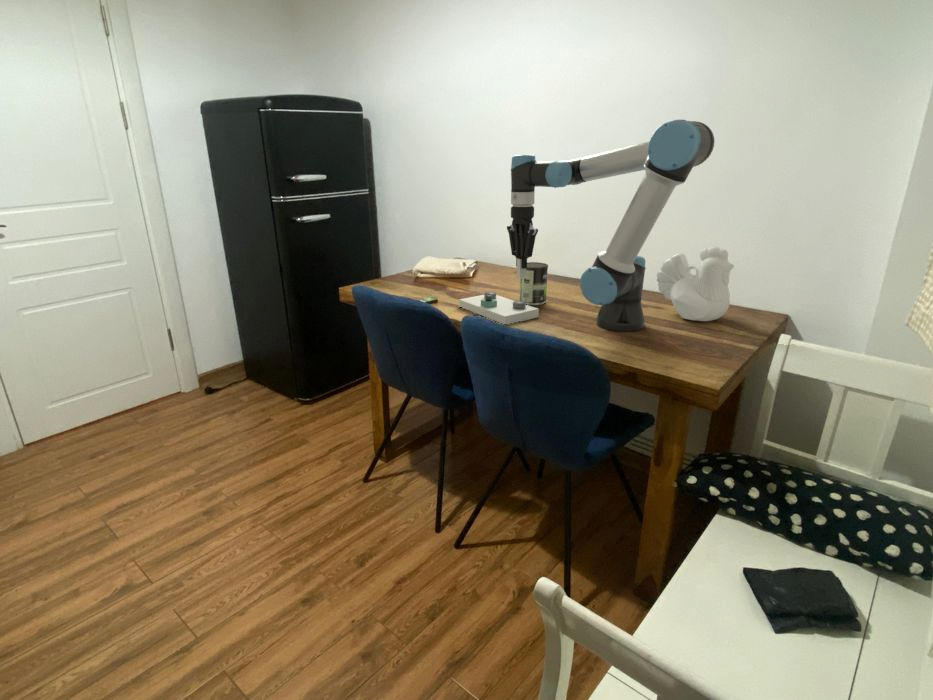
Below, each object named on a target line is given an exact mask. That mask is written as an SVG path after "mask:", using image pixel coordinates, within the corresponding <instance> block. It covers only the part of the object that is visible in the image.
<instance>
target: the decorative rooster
mask: <svg viewBox="0 0 933 700" xmlns="http://www.w3.org/2000/svg"><path fill="white" fill-rule="evenodd" d="M699 257H700V260H701V263H700V266H699V265H697V264H690V265H689V262H688V258H687V256H686V254H684V253H683V252H680V253H679V252H678V253H676V254H673V255H672V256H671V257H670V258H668V259H666V260H665V261H664V262H663V263H662V265H661V266H660V268H659V270H658V272H657V273H656V282H658V283H657V286H658V290H659V293H661V294H663V297H664V298H665V299H666V300H669V301H671V303H672V305H673V307H674V309H675V311H676V313H678V314H679V316H680V317H681V318H682V319H684V320H689V321H699V322H710V321H714V320H718V319H720V318H721V317H723V315H724V314H726V312H727V311H728V309H729V307H730V303H731V299H730V298H731V294H730V290H729V283H730V275H731V270H733V269H734V267H735V265H734V264H732V263H730V262H729V259H728V258H729V252H728V251H727V250H726V249H723V248H722V249H721V248H720V247H717V246H710V247H707V248H706V247H704V248H702V249H701V251H700V252H699ZM692 269H693V270H695V272H696V273H695V274H693V273H692V271H691V270H692Z"/></svg>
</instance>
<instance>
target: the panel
mask: <svg viewBox="0 0 933 700" xmlns="http://www.w3.org/2000/svg"><path fill="white" fill-rule="evenodd" d="M483 299H485V298H484V294H480V295H475V296H469V297H465V298H459V299H458V308H459V307H462V308H465V309H467V310H470V311H473V312H474V313H473V314H475V313H478V314H480V315H482V316H485V317H487V318H486V319H488V318H490V319H492V320H491V321H493V320H495V321H498V322H501V323H504V324H508V323H509V324H508V325H511V324H510V323H512V324H515V323H514V322H516V323H519V321H520V322H524V321H528V320H532V319H536V318H539V311H540V310H539V308H538V307H535V306H533V305H526V308H525V309H514V308H513V302H514V301H515V300H513V299H511V298H507V297H504V296H501V295H498V294H496V299H494V300H497V306H495V307H491V308H486V307H483V306H481V300H483ZM462 308H461V309H462ZM467 310H466V311H467ZM470 311H469V312H470ZM480 315H479V316H480ZM482 316H481V317H482ZM485 317H484V318H485ZM490 319H489V320H490ZM495 321H494V322H495ZM498 322H497V323H498Z"/></svg>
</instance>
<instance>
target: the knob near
mask: <svg viewBox="0 0 933 700" xmlns="http://www.w3.org/2000/svg"><path fill="white" fill-rule="evenodd" d="M513 301H514V302H513V308H514V309H525V308H526V302H524V301H519V300H513Z"/></svg>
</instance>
